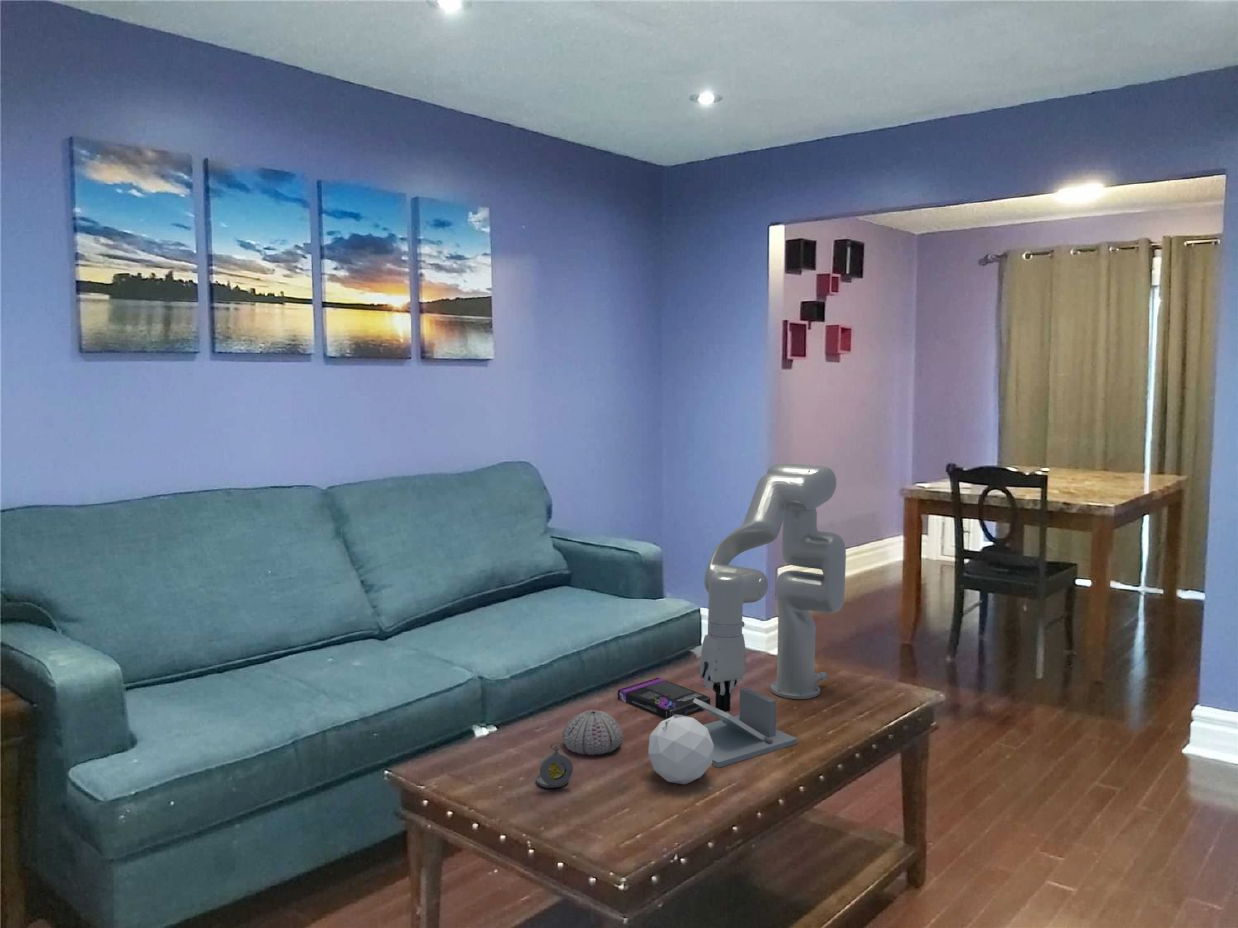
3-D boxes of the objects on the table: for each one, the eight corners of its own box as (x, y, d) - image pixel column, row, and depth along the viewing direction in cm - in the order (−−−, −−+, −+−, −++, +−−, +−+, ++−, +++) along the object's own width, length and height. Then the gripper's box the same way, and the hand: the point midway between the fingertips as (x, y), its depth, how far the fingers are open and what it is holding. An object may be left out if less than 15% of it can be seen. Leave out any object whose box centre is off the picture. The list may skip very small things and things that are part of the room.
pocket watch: (551, 772, 197) (551, 725, 196) (582, 783, 192) (582, 736, 191) (523, 785, 191) (523, 737, 190) (554, 798, 186) (554, 748, 185)
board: (743, 718, 228) (744, 680, 227) (797, 743, 213) (798, 703, 212) (666, 739, 215) (666, 699, 214) (718, 767, 200) (718, 724, 199)
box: (617, 702, 241) (669, 723, 226) (616, 689, 241) (669, 709, 226) (658, 689, 250) (711, 709, 235) (657, 676, 249) (711, 695, 235)
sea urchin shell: (617, 761, 203) (617, 725, 202) (555, 756, 206) (555, 720, 205) (627, 737, 216) (627, 703, 216) (569, 733, 219) (569, 699, 218)
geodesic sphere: (676, 778, 182) (702, 711, 187) (621, 759, 191) (648, 695, 196) (710, 801, 191) (734, 737, 196) (657, 782, 200) (681, 720, 205)
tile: (694, 697, 215) (692, 701, 214) (729, 714, 205) (727, 718, 204) (730, 719, 221) (728, 723, 221) (765, 736, 211) (763, 740, 211)
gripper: (739, 621, 217) (736, 699, 219) (687, 629, 209) (685, 711, 210) (761, 628, 211) (759, 709, 212) (709, 637, 202) (707, 721, 204)
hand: (722, 709), depth 211 cm, fingers closed
